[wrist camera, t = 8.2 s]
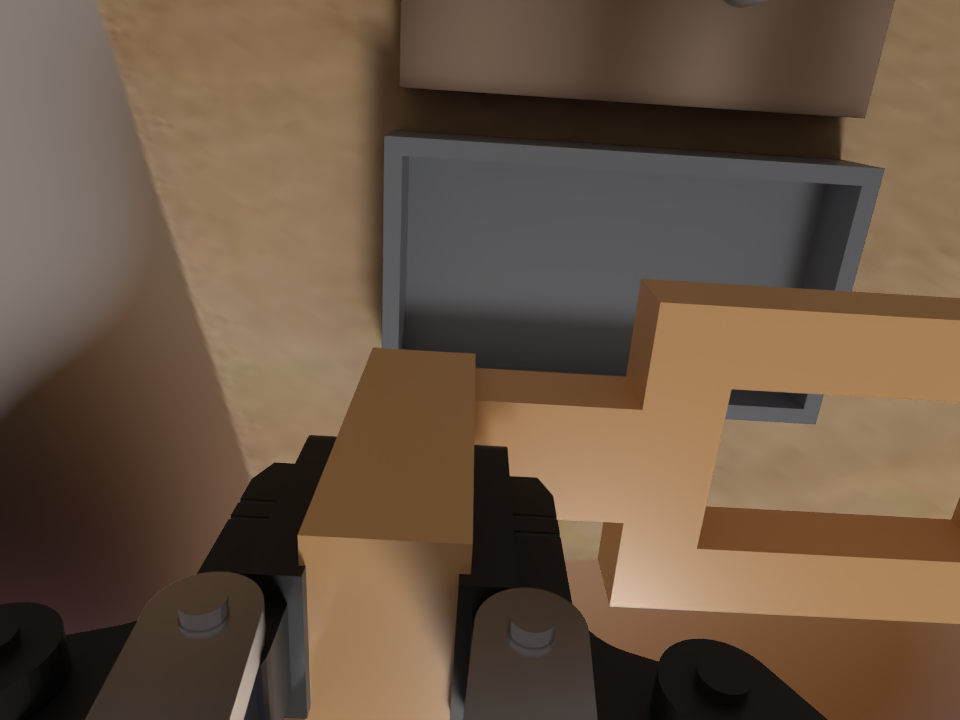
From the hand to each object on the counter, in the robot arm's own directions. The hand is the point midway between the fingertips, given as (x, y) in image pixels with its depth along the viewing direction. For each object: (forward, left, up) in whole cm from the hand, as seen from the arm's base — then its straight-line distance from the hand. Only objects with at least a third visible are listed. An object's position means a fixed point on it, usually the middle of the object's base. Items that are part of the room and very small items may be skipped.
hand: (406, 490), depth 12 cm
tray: (-6, 0, -17) cm, 18 cm away
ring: (-6, 0, -3) cm, 7 cm away
